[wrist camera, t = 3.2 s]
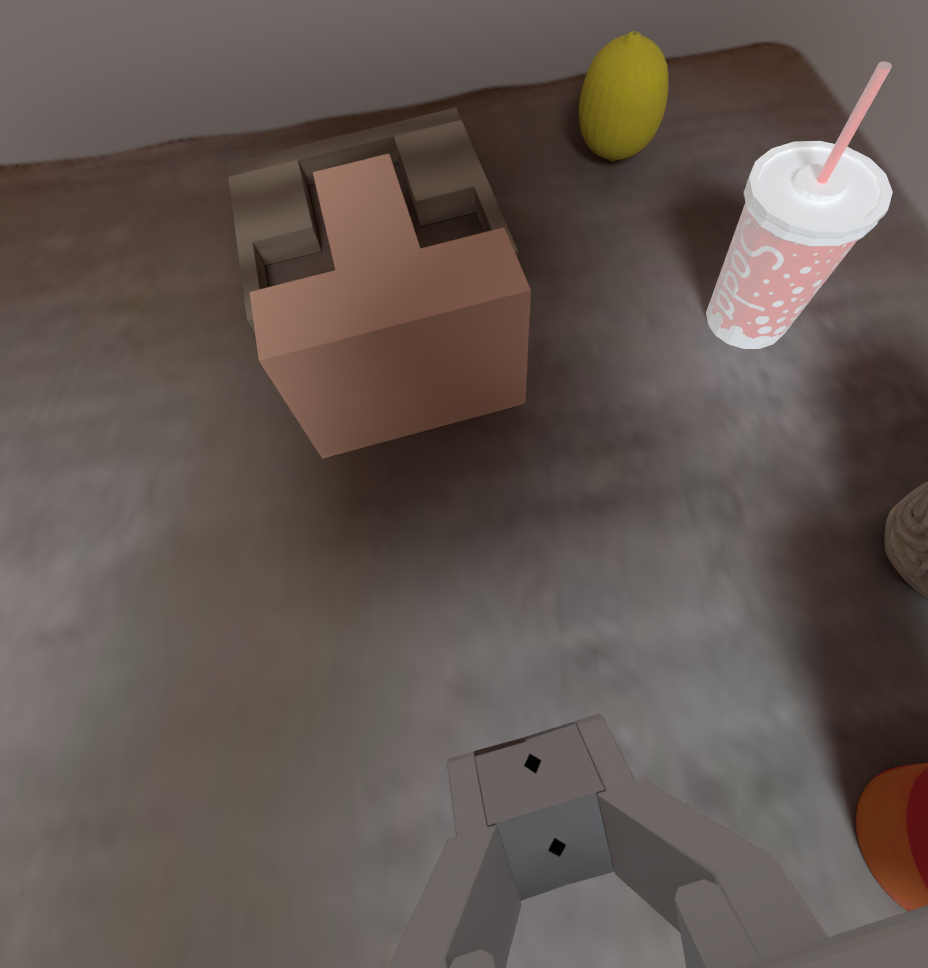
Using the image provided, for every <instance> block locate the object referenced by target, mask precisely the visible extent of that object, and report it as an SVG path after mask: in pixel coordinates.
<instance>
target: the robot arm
mask: <svg viewBox="0 0 928 968" xmlns="http://www.w3.org/2000/svg"><path fill="white" fill-rule="evenodd" d="M447 769H448V777H449V785H450V793H451V801H452V809H453V816H454V824H455V832H456V837H454V838H451V839H448V841H447V843H446V845H445V847H444V849H443V852H442V854H441V856H440V858H439V860H438V862H437V864H436V866H435V868H434V871H433V873H432V875H431V877H430V879H429V881H428V883H427V885H426V888H425V890H424V892H423V894H422V896H421V898H420V900H419V902H418V905H417V907H416V909H415V911H414V913H413V915H412V917H411V919H410V921H409V924H408V926H407V928H406V930H405V932H404V934H403V936H402V938H401V941H400V943H399V945H398V947H397V949H396V951H395V953H394V955H393V957H392V960H391V962H390V964H389V966H388V968H505V967H506V963H507V959H508V955H509V951H510V947H511V943H512V939H513V935H514V931H515V928H516V924H517V920H518V916H519V912H520V908H521V902H520V901H522V900H525V899H527V898H530V897H533V896H536V895H539V894H542V893H545V892H548V891H550V890H553V889H556V888H559V887H562V886H565V885H568V884H572V883H575V882H579V881H582V880H586V879H589V878H593V877H597V876H600V875H604V874H607V873H611V872H615V874H616V875H617V876H618V877H619V878H620V879H621V880H622V881H624V882H625V883H626V884H627V885H628V886H629V887H630V888H631V889H632V890H634V891H635V892H636V893H637V894H638V895H639V896H640V897H641V898H642V899H644V900H645V901H646V902H647V903H648V904H649V905H650V906H651V907H652V908H654V909H655V910H656V911H657V912H658V913H659V914H660V915H661V916H662V917H663V918H665V919H666V920H667V921H668V922H669V923H670V924H671V925H672V926H673V927H675V928H676V929H677V930H678V931H679V932H680V933H681V939H682V945H683V950H684V956H685V962H686V968H928V905H927V906H924V907H921V908H917V909H914V910H911V911H908V912H905V913H902V914H899V915H896V916H893V917H890V918H886V919H883V920H880V921H877V922H874V923H871V924H868V925H865V926H862V927H859V928H855V929H852V930H849V931H846V932H843V933H840V934H837V935H834V936H831V937H828V936H827V934H826V933H825V931H824V930H823V928H822V927H821V925H820V924H819V923H818V921H817V920H816V918H815V917H814V915H813V914H812V912H811V911H810V909H809V908H808V907H807V905H806V904H805V902H804V901H803V899H802V898H801V896H800V895H799V893H798V892H797V891H796V889H795V888H794V886H793V885H792V883H791V882H790V880H789V879H788V877H787V876H786V875H785V873H784V872H783V870H782V869H781V867H780V866H779V864H778V863H777V861H776V860H775V858H774V857H773V856H772V855H771V854H769V853H767V852H766V851H764V850H762V849H761V848H759V847H757V846H756V845H754V844H752V843H751V842H749V841H747V840H745V839H744V838H742V837H740V836H739V835H737V834H735V833H734V832H732V831H730V830H729V829H727V828H725V827H724V826H722V825H720V824H719V823H717V822H715V821H714V820H712V819H710V818H709V817H707V816H705V815H703V814H702V813H700V812H698V811H697V810H695V809H693V808H692V807H690V806H688V805H687V804H685V803H683V802H682V801H680V800H678V799H677V798H675V797H673V796H672V795H670V794H668V793H667V792H665V791H663V790H661V789H660V788H658V787H656V786H655V785H653V784H651V783H650V782H648V781H646V780H645V779H644V780H640V781H637V782H636V780H635V778H634V776H633V774H632V772H631V770H630V768H629V766H628V764H627V762H626V760H625V758H624V756H623V754H622V752H621V750H620V749H619V747H618V745H617V743H616V741H615V739H614V737H613V735H612V733H611V731H610V729H609V727H608V725H607V723H606V721H605V719H604V718H603V716H602V715H600V714H596V715H593V716H590V717H586V718H583V719H580V720H577V721H575V722H571V723H568V724H565V725H561V726H558V727H555V728H552V729H549V730H545V731H542V732H539V733H536V734H533V735H529V736H526V737H524V738H520V739H517V740H513V741H509V742H506V743H502V744H499V745H495V746H491V747H488V748H484V749H480V750H477V751H474V752H472V753H468V754H464V755H461V756H457V757H453V758H449V759H448V763H447Z"/></svg>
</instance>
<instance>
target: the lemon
mask: <svg viewBox="0 0 928 968" xmlns="http://www.w3.org/2000/svg"><path fill="white" fill-rule="evenodd" d="M667 97H668V68H667V63H666V61H665V58H664V55H663V53H662V52H661V50H660V49H659V47H658V46H657V45H656V44H655V43H654V42H653V41H651V40H650V39H648V38H647V37H644V36H641V35H640V33H639V32H636V31H633V32H630V33H629V34H628V35H624V36H621V37H618V38H616V39H614V40H612V41H611V42H610V43H608V44H607V45H606V46H604V47H603V48H602V49H601V50H600V51H599V53H598V54H597V55H596V57H595V58H594V60H593V61H592V63H591V65H590V67H589V69H588V72H587V75H586V78H585V81H584V84H583V87H582V91H581V95H580V101H579V121H580V129H581V133H582V136H583V138H584V140H585V142H586V144H587V145H588V147H589V148H590V149H591V150H592V151H593V152H594V153H595V154H597V155H598V156H600V157H602V158H605V159H608V160H609V161H611V162H614V161H616V160H621V159H626V158H629V157H631V156H633V155H635V154H636V153H638V152H640V151H641V150H642V149H643V148H644V147H645V146H646V145H647V144H648V143H649V142H650V141H651V139H652V138H653V137H654V135H655V133H656V131H657V129H658V127H659V125H660V123H661V120H662V118H663V115H664V112H665V108H666V103H667Z"/></svg>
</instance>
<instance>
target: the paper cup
mask: <svg viewBox="0 0 928 968" xmlns="http://www.w3.org/2000/svg"><path fill="white" fill-rule="evenodd" d="M856 833H857V839H858V843H859V847H860V850H861V853H862V855H863V858H864V860H865V862H866V864H867V866H868V868H869V870H870V871H871V873H872V875H873V876H874V878H875V879H876V880H877V882H878V883H879V885H880V886H881V887H882V888H883V889H884V891H885V892H886V893H887V894H888V895H889V896H890V897H891V898H892V899H893V900H894V901H896V902H897V903H898V904H899V905H900V906H902V907H903V908H904V909H906V910H907V911H911V910H914V909H917V908H921V907H924V906H927V905H928V763H921V764H911V765H904V766H898V767H894V768H891V769H888V770H885V771H883V772H881V773H879V774H878V775H876V776H875V777H874V778H873V779H872V780H870V782H869V783H868V784H867V785H866V786H865V788H864V790H863V791H862V793H861V795H860V798H859V801H858V804H857V809H856Z"/></svg>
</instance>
